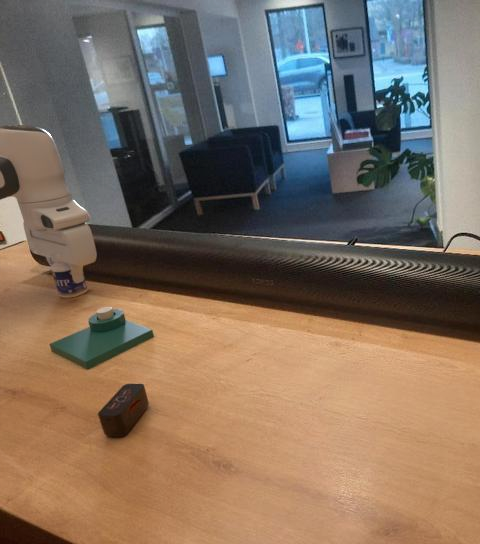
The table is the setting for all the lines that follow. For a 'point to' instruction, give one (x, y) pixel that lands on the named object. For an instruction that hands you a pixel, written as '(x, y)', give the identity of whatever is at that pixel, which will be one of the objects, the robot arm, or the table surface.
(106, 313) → the button
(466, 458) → the table surface
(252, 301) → the table surface
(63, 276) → the pill bottle
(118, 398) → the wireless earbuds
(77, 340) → the scale
